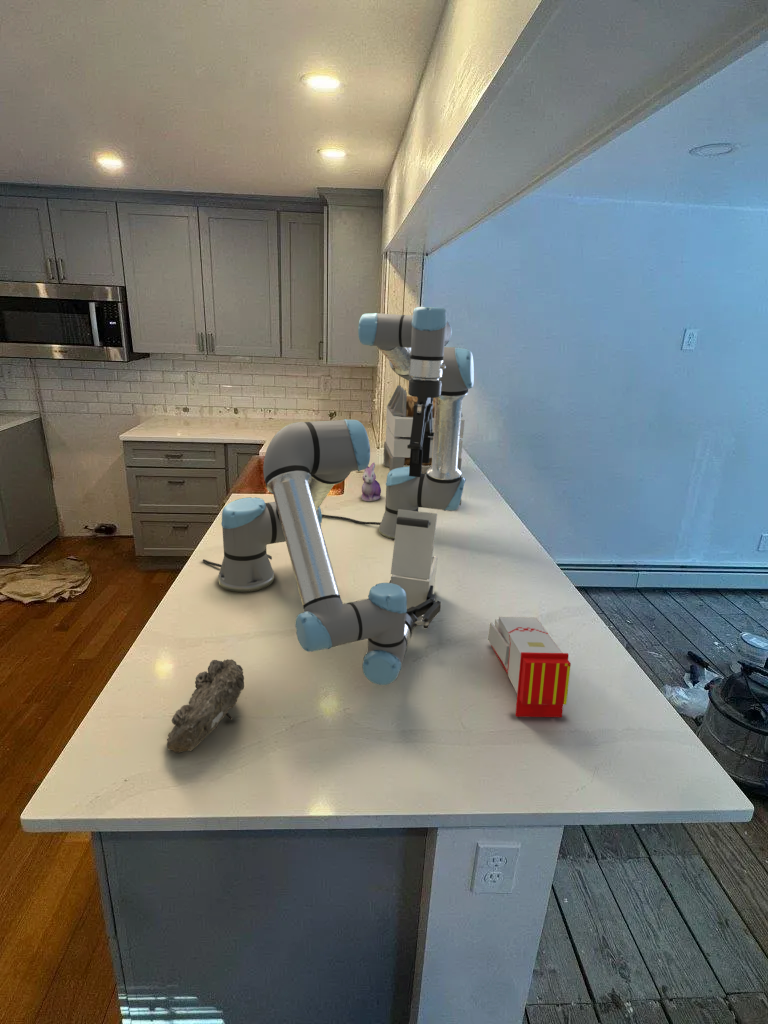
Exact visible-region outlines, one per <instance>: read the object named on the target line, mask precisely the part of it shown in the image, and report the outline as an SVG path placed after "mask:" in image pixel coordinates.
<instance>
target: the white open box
mask: <svg viewBox="0 0 768 1024" xmlns="http://www.w3.org/2000/svg"><path fill="white" fill-rule="evenodd" d="M437 564H438V555H437V556H436V555H433V556H432V565H431V573H430V579H422V578H414V577H407V576H400V575H392V574H391V576H390V580H391V583H393V584H396V585H399V586H400V587H401V588H403V589H404V590H405V592H406V599H407V609H409V608H411V607H412V606H413V607H416V606H417V605H419V604H421V603H423V602H425V601H426V600H427V595H428V591H429V589H430V586H433V594H435V588H436V577H437ZM421 617H422V616H420V617H418V618H417V619H420V618H421Z"/></svg>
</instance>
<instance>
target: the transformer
mask: <svg viewBox="0 0 768 1024" xmlns="http://www.w3.org/2000/svg"><path fill="white" fill-rule="evenodd" d="M407 394H408V392H407V390H406V389H404V388H403V387H402V385H399V384H398V385H397V386H396V388H395V390H394V392H393V394H392V395H391V398H390V400H389V402H388V404H387V405H386V413H385V414H386V415H385V423H386V428H385V438H384V442H383V466H384V467H388V468H389V472H390V471H391V470H393V469H396V468H401V467H405V466H406V467H410V452H411V449H408V448H407V445H409V444H410V438H411V430H412V422H413V414H414V404H416V403H417V400H418V398H417V397H413V396H410V395H407ZM434 412H435V398H433V410H432V429H433V430H434ZM464 429H465V419H464V418H463V412H462V413H461V426H460V439H459V452H458V465H457V468H458V469H459V470H460V471H461V472H462V461H463V460H462V453H463V442H464V441H463V440H462V439H463V438H464V431H465V430H464ZM432 432H433V431H432ZM429 437H431V436H429ZM432 448H433V437H431V442H430V456H429V463H422V467H431V466H432Z"/></svg>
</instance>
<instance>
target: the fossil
mask: <svg viewBox="0 0 768 1024" xmlns="http://www.w3.org/2000/svg"><path fill="white" fill-rule="evenodd" d="M243 670H244V669H243V667H242V665H240V664H237V662H236V661H235V660H234V659H232V658H231V659H227V658H226V659H224V660H223V661H222V660H217V659H212V660H211V661H210V663H209V665H208V666H207V671H201V672H199V673H198V674H197V675H196V676H195V680H194V684H195V685H194V687H195V689H194V690H193V693H192V694H191V697H190V698H189V700H188V704H184V705H182V706H181V707H180V709H177V710H176V711H175V713H174V715H173V716H172V718H171V723H172V724H173V727H172V730H171V731H170V732H168V734H167V738H166V741H167V742H166V745H167V749H168V750H169V751H173V752H174V753H176V754H178V753H182V752H188V751H189V752H192V751H193V750H195V748H196V747H197V746H199V744H200V743H201V742H203V741H204V740H205V739H206V738H207V737H208V736H209V735H210V734H211V733H212V732H214V730H215V729H217V727H218V726H219V724H220V722H221V721H222V720H223V719H224V718H225V716H226V717H227V719H229V720H233V717H232V715H230V714H229V710H230V709H231V708H234V706H235V704H236V703H237V702H238V699H239V697H240V695H241V693H242V691H243V690H245V689H244V688H245V675H244V671H243Z"/></svg>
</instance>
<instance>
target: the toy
mask: <svg viewBox="0 0 768 1024" xmlns="http://www.w3.org/2000/svg"><path fill="white" fill-rule="evenodd" d="M488 625H489V627H488V633H487V641H488V642H489V644H490V646H491V647H490V648H491V649H492V650H493V652H494V654H495V656H496V658H497V659H498V660H499V662H500V664H501V666H502V668H503V669H504V671H505V673H506V674H507V676H508V678H509V680H510V682H511V685H512V686H513V689H514V690H515V693H516V704H515V717H516V718H517V717H518V718H519V717H520V718H521V717H522V718H563V710H564V705H567V701H568V692H569V685H570V684H569V683H570V676H571V675H570V674H571V666H572V664H571V661H570V660H569V655H570V654H569V653H568V652H563V651H562V649H561V648H560V647H559V646H558V644H557V643H556V642H555V640H554V639H553V638H552V636H551V635H550V634H549V632H548V631H547V629H546V628H545V627H544V626H543V624H542V622H541V621H540V620H539V619H538V618H537V616H498V618H496V619H494V623H493V622H489V624H488Z"/></svg>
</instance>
